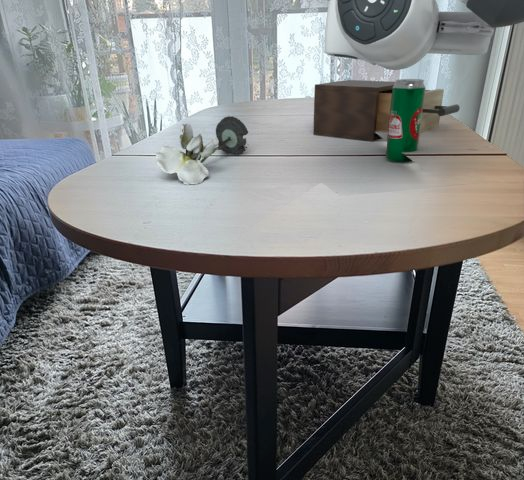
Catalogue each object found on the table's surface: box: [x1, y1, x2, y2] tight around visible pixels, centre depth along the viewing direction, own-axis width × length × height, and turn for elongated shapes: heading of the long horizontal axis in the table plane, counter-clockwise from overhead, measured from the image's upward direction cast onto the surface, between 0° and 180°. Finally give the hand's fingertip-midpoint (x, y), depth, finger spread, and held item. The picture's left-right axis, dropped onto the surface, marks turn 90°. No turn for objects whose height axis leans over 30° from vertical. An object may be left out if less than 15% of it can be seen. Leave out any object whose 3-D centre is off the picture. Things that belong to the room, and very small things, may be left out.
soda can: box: [385, 78, 426, 164], centre depth 82 cm, size 5×5×12 cm
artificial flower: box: [155, 115, 249, 186], centre depth 82 cm, size 9×22×10 cm, turn 155°
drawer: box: [375, 88, 461, 134], centre depth 100 cm, size 18×11×8 cm, turn 49°
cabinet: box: [312, 79, 396, 143], centre depth 106 cm, size 15×13×10 cm
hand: (412, 42), depth 70 cm, fingers closed
